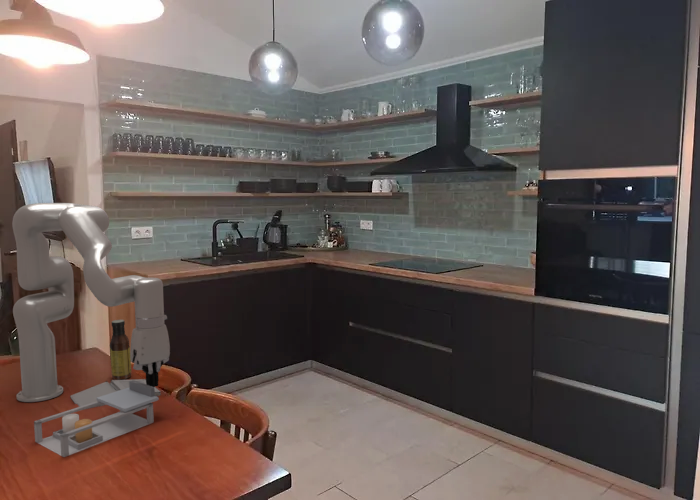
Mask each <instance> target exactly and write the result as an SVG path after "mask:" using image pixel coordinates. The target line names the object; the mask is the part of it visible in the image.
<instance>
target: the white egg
mask: <svg viewBox="0 0 700 500" xmlns="http://www.w3.org/2000/svg"><path fill="white" fill-rule="evenodd" d="M78 420H80V415H79V414H78V413H71V414H68V415H65V416H62V417H61V422H62V423H61V424H62V429H63V433H66V432H69V431H71V430H74V429H75V422H76V421H78ZM73 435H74V434H73Z"/></svg>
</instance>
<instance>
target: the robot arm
mask: <svg viewBox="0 0 700 500" xmlns="http://www.w3.org/2000/svg"><path fill="white" fill-rule="evenodd" d="M109 226H110V218H109V215H108V213H107V212H106V211H105V210H104V209H103V208H101V207H100V206H98V205H89V204H81V203H72V202H38V203H37V202H35V203H28V204H26V205H25V204H24V205H23V206H21V207H19V208H18V209H17V210H16V211H15V213H14V215H13V217H12V230H13V236H14V239H15V243H16V267H17V268H16V269H17V272H16V273H17V282H18V284H19V286H20V288H22V289H23V290H25V291H38V290H44V289H48V291H43V292H38V293H33V294H28V295H25V296H23V297H21V298H18V300H17V301H16V302H15V303H14V305H13V308H12V314H13V318H14V323H15V326H16V330H17V335H18V337H17V338H18V349H19V361H20V377H21V382H20V383H21V390H19V392H18V393H16V400H17V401H19V402H23V403H35V402H42V401H47V400H51V399H53V398H54V399H55V398H57V397H59V396H61V395H62V394H63V392H64V387H63V386H62V385H60V384H58V373H57V371H58V369H57V354H56V337H55V335H54V332H52V330H51V328H50V327H49V326H48V324H49V323H52V322H56V321H59V320H64V319H67V318H68V317H70V316H71V314H73V310H74V307H75V285H74V284H75V282H74V270H73V267H72V265H71V263H70V262H69V261H68V260H67V259H66V258H65V257H63V256H56V255H54V256H50V245H49V242H48V239H47V238H46V236H45V235H44V234H43V233H45V232H46V233H47V232H62V231H63V233H64V234H65V235H66V237H67V239H68V240H69V241H70V242H71V243H72V245H73V246H74V248H75V249H76V250H77V252H78V254H80V256H81V257H82V258H83V266H82V267H83V268H82V270H83V271H82V273H83V279H84V282H85V285H86V287H87V288H88V289H89V291H90V292H91V293H92V294H93V296H94V297H95V298H96V300H97V301H99V302H100V304H102V305H103V306H106V307H117V306H121V305H125V304H129V303H130V304H131V303H133V302H134V316H135V318H134V321H135V328H132V331H131V336H130V337H131V338H130V358H131V364H133V367H132V369H133V370H135V371H142V372H143V373H145V379H146V384H147V385H149V386H152V387H158V386H159V380H160V379H159V372H160V371H161V368H162V367H163V365H164V364H165V363H167V362H169V361H170V354H171V352H170V351H171V346H170V344H171V343H170V338H169V337H170V336H169V331H168V328H167V325H166V324H165V320H168V316H167V314H165V312H164V311H165V307H164V285H163V283H164V282H163V281H162V279H160V278H159V277H144V276H141V275H137V274H132V275H125V276H120V277H114V278H111V277H110V275H109V274H108V273H107V271H106V270H105V268H104V267H103V265H102V260H103V259H104V258H105V257H107V256H108V254H109V253H110V252H111V250H112V248H113V245H112V242H111V241H110V239H109V238H108V237H107V235H106V234H105V231H107V230H108V228H109Z"/></svg>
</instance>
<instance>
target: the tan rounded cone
mask: <svg viewBox="0 0 700 500" xmlns="http://www.w3.org/2000/svg"><path fill="white" fill-rule="evenodd" d="M92 421H93V420H92V419H90V418H83V419H79V420H78V421H76V422H75V429H77V428H80V427H83V426H86V425H88V424H91V423H92ZM75 438H76V442H77V443H82V442H84V441H87V440H90V439H92V438H93V434H92V428H90V429H87V430H84V431H82V432H79V433H76V434H75Z"/></svg>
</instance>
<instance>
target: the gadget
mask: <svg viewBox="0 0 700 500" xmlns="http://www.w3.org/2000/svg"><path fill="white" fill-rule="evenodd" d="M132 380H134V381H137V382H140V383H143V384H146V378H143V379H142V378H140V379H124V380H115V379H111V380H110V382H108V381H104V382H101V383H99V384H96V385H94V386H92V387H89V388H87V389H83V390H81V391H79V392H76V393H74V394H71V395H70V399H71V401H72V402H73V403H74V405H77V407H80V406H83V405H86V404H90V403H93V402H96V401H97V399H96V398H97V397H100V396H103V395H107V394H110V393H113V392H116V391H119V390H122V389H126V388H129V381H132ZM146 385H147V384H146ZM154 389H155V396H157V397H159V396H162V394H161V393H162V391H161V390H159V389H158V388H157V386H155V387H154ZM103 406H107V405H106V404H104V403H102V404H99V405H96V406H93V407H89V408H86V409H83V410H82V411H84V410H88V409H93V408H96V407H97V408H98V407H103Z"/></svg>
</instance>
